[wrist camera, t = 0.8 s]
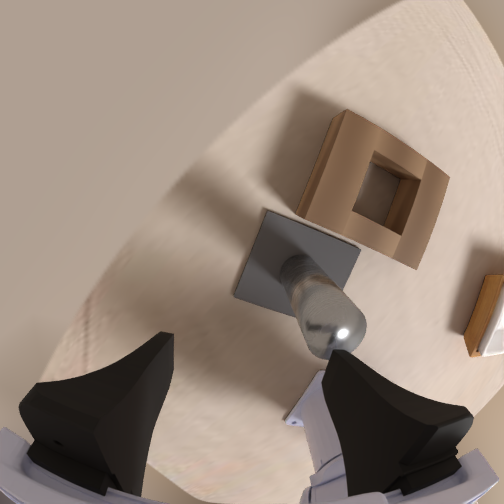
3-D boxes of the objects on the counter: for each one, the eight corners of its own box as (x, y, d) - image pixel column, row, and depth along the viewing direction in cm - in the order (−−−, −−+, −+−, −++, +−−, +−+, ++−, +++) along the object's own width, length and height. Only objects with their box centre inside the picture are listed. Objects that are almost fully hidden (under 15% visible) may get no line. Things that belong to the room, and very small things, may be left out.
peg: (324, 262, 20) (376, 314, 12) (308, 296, 21) (347, 364, 12) (289, 248, 20) (324, 296, 11) (273, 284, 21) (295, 352, 12)
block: (428, 176, 19) (449, 176, 16) (397, 259, 21) (416, 270, 18) (332, 118, 18) (347, 109, 15) (295, 214, 20) (304, 219, 17)
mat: (359, 248, 21) (361, 249, 20) (323, 324, 22) (324, 326, 22) (267, 210, 20) (267, 210, 19) (233, 295, 21) (233, 297, 21)
